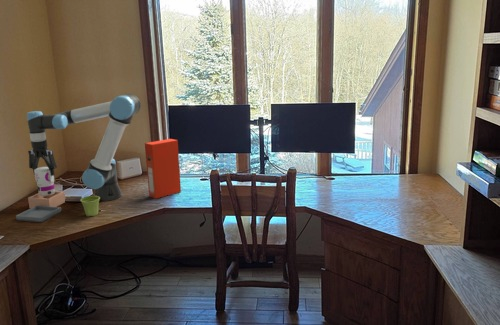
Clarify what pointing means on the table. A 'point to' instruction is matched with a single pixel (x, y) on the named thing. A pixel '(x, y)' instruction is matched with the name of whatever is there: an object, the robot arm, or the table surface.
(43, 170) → the supplement can
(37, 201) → the holder
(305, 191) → the table surface
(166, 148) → the file binder
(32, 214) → the tray
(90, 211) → the plant pot
